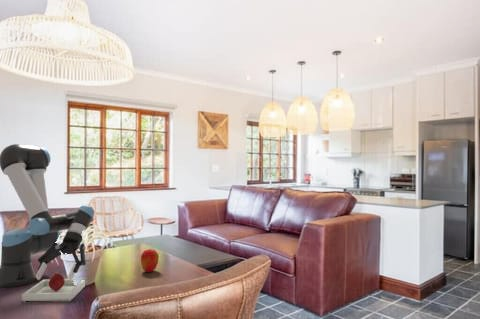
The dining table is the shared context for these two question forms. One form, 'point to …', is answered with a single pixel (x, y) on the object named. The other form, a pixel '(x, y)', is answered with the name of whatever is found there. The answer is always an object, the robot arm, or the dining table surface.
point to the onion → (56, 282)
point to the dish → (47, 294)
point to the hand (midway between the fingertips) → (53, 279)
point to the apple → (149, 260)
